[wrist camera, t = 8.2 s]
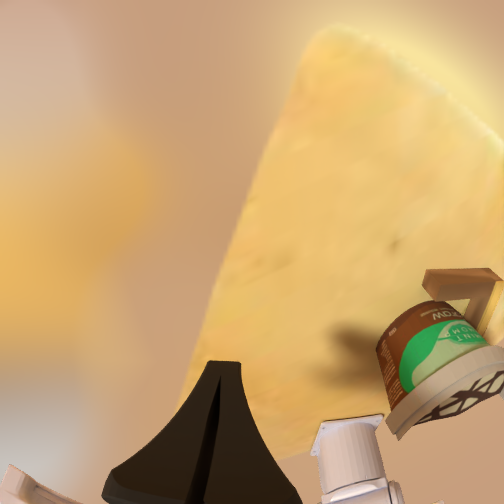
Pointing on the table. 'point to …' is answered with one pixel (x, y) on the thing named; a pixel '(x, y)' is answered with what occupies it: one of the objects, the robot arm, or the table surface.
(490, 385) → the food container
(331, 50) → the table surface
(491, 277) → the dock bay
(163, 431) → the robot arm
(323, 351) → the table surface
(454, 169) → the table surface
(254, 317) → the table surface
